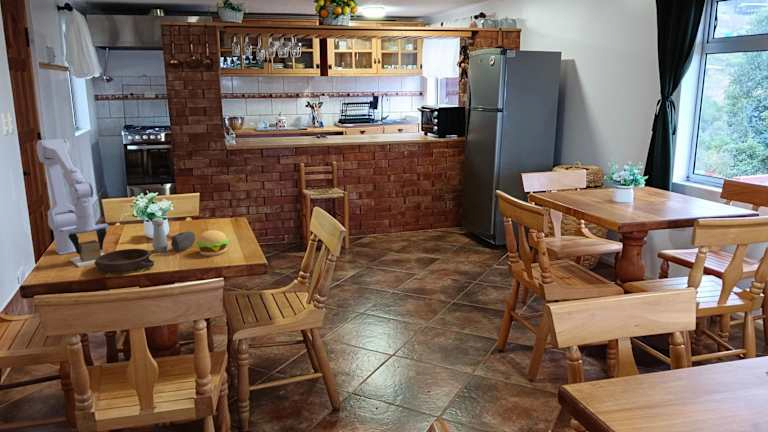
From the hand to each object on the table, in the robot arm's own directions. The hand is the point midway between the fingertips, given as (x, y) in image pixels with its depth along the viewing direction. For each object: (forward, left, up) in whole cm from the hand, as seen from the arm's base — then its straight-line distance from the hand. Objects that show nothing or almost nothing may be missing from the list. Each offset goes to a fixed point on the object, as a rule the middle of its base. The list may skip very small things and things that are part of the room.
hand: (89, 251), depth 215 cm
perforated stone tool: (+10, +32, -4) cm, 34 cm away
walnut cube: (0, 0, -3) cm, 3 cm away
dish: (+18, +7, -4) cm, 20 cm away
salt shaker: (+6, +24, -4) cm, 25 cm away
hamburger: (+23, +38, -4) cm, 44 cm away
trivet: (0, 0, -4) cm, 4 cm away
